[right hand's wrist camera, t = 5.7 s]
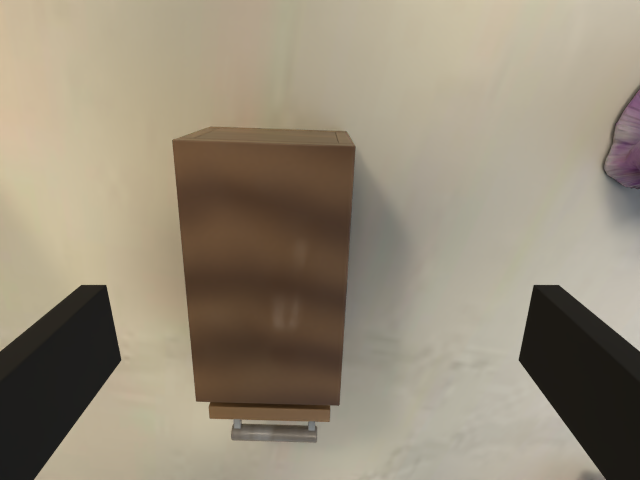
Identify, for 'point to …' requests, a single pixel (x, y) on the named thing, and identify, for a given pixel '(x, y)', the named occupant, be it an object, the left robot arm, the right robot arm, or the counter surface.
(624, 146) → the figurine
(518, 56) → the counter surface
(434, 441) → the counter surface
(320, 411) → the drawer
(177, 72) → the counter surface
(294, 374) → the cabinet
